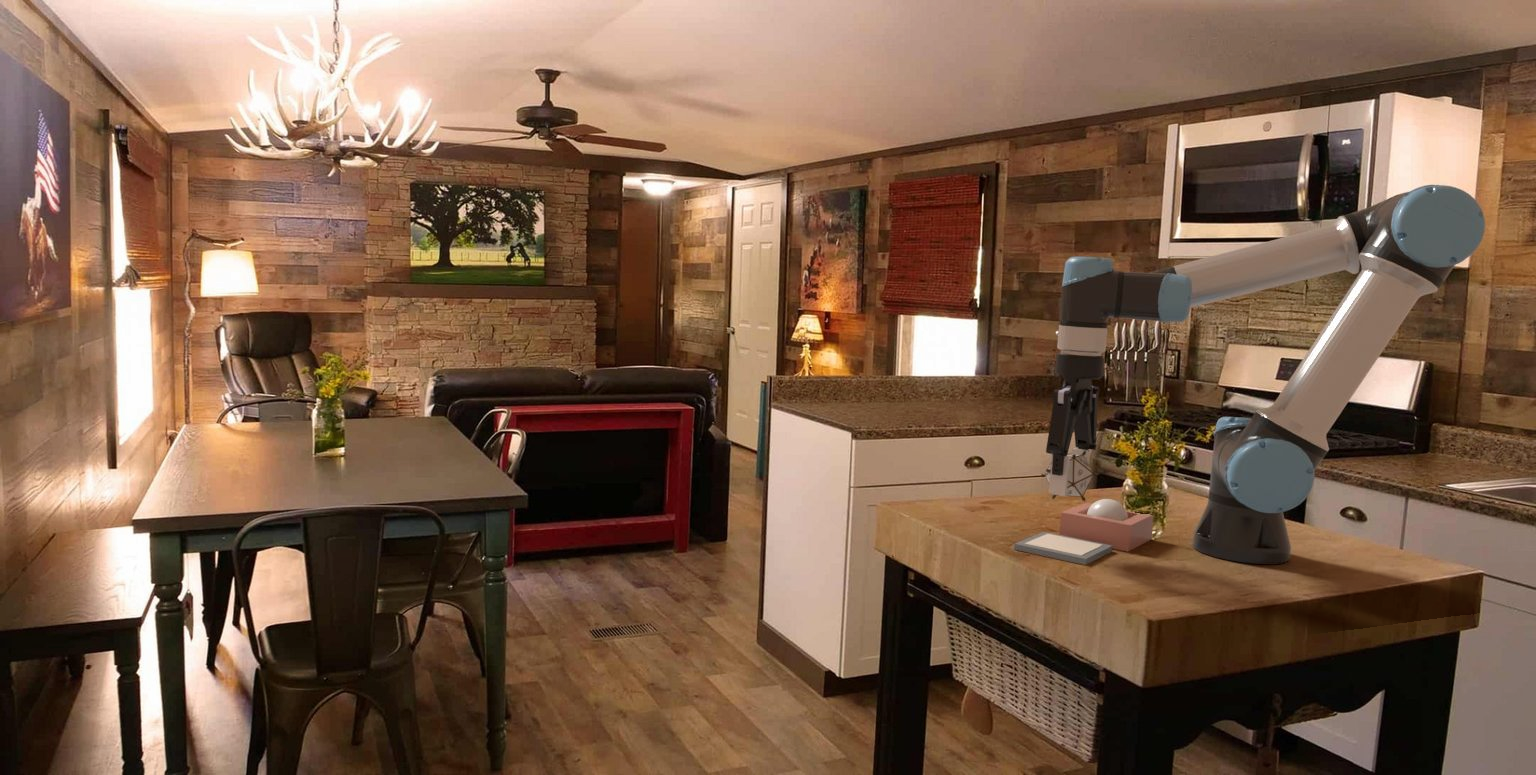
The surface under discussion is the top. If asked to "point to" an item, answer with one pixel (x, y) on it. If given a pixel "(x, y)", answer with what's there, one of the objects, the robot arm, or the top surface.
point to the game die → (1076, 475)
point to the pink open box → (1107, 528)
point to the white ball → (1108, 510)
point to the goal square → (1063, 548)
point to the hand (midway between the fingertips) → (1067, 490)
